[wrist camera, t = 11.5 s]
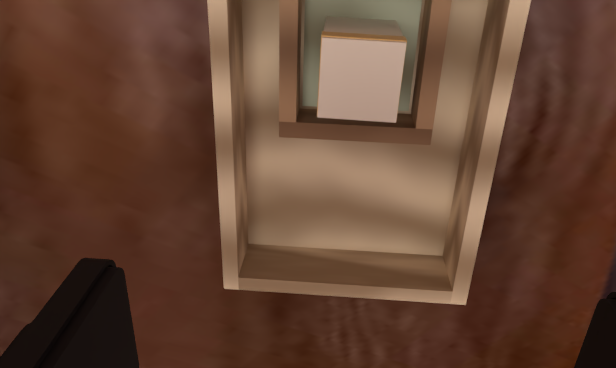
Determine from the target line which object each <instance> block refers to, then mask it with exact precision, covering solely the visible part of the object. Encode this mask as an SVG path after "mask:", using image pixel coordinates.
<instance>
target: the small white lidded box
mask: <svg viewBox="0 0 616 368" xmlns="http://www.w3.org/2000/svg"><path fill="white" fill-rule="evenodd" d="M406 45H407V39H406V37H405V36H403V34H402V32H401V30H400V28H399V26H398V23H397V21H396V20H381V19H364V18H348V17H331V16H326V21H325V26H324V30H323V31H322V34H321V48H320V66H319V83H318V100H317V117H318V118H333V119H347V120H362V121H377V122H392V123H396V121H397V113H398V106H399V98H400V90H401V83H402V75H403V68H404V60H405V53H406Z"/></svg>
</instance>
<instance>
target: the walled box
mask: <svg viewBox="0 0 616 368" xmlns="http://www.w3.org/2000/svg"><path fill="white" fill-rule="evenodd" d="M530 2H531V0H207V3H208V20H209V37H210V55H211V72H212V90H213V107H214V125H215V142H216V160H217V177H218V195H219V212H220V230H221V247H222V265H223V282H224V289H236V290H251V291H266V292H281V293H296V294H311V295H326V296H341V297H356V298H371V299H386V300H401V301H416V302H431V303H445V304H460V305H466V301H467V296H468V292H469V287H470V282H471V278H472V273H473V268H474V264H475V259H476V254H477V250H478V245H479V240H480V236H481V231H482V226H483V222H484V217H485V212H486V208H487V203H488V198H489V194H490V189H491V184H492V180H493V175H494V170H495V166H496V161H497V156H498V152H499V147H500V142H501V138H502V133H503V128H504V124H505V119H506V114H507V110H508V105H509V100H510V96H511V91H512V86H513V82H514V77H515V72H516V68H517V63H518V58H519V54H520V49H521V44H522V40H523V35H524V30H525V26H526V21H527V16H528V12H529V7H530ZM326 16H331V17H348V18H364V19H381V20H396V21H397V23H398V26H399V28H400V30H401V32H402V34H403V36H405V37H406V39H407V45H406V53H405V60H404V68H403V75H402V83H401V90H400V98H399V106H398V113H397V121H396V123H392V122H377V121H362V120H347V119H333V118H318V117H317V100H318V83H319V66H320V48H321V34H322V31H323V30H324V26H325V21H326Z"/></svg>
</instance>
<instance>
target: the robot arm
mask: <svg viewBox="0 0 616 368" xmlns="http://www.w3.org/2000/svg"><path fill="white" fill-rule="evenodd" d="M0 368H139V361H138V355H137V349H136V343H135V336H134V330H133V324H132V318H131V311H130V305H129V299H128V293H127V286H126V280H125V274H124V270H123V269H122V268H119V267H116V264H115V262H114V261H113V260H108V259H92V258H83V259H81V260H80V261H79V262H78V263H77V265H76V266H75V267H74V269H73V270H72V271H71V272H70V274H69V275H68V276H67V278H66V279H65V280H64V281H63V283H62V284H61V285H60V287H59V288H58V289H57V290H56V292H55V293H54V294H53V296H52V297H51V298H50V300H49V301H48V302H47V303H46V305H45V306H44V307H43V309H42V310H41V311H40V312H39V314H38V315H37V316H36V318H35V319H34V320H33V321H32V323H30V324H27V325H26V326H25V327H24V328H23V329H22V330H21V331H20V333H19V334H18V335H17V337H16V338H15V339H14V340H13V342H12V343H11V344H10V345H9V347H8V348H7V349H6V351H5V352H4V353H3V354H2V356H1V357H0ZM574 368H616V292H612V293H610V294H609V295H608V296H607V298H606V299H601V300H600V301H599V302H598V304H597V306H596V309H595V312H594V314H593V317H592V320H591V323H590V325H589V328H588V331H587V334H586V336H585V339H584V342H583V345H582V347H581V350H580V353H579V356H578V358H577V361H576V364H575V367H574Z"/></svg>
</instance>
